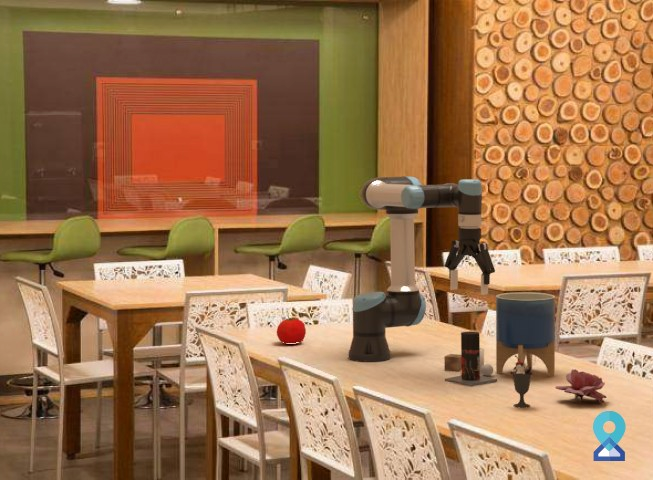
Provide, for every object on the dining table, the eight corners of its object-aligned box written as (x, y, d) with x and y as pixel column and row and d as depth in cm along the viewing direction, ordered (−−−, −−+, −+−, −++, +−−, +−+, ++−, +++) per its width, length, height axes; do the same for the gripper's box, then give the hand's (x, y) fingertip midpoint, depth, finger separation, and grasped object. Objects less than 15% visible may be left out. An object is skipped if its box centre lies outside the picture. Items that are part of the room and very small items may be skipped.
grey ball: (478, 376, 414) (478, 364, 413) (486, 374, 416) (486, 362, 416) (487, 377, 411) (487, 365, 410) (495, 376, 413) (495, 364, 413)
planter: (558, 370, 421) (559, 293, 419) (549, 381, 403) (550, 300, 401) (502, 367, 427) (502, 291, 425) (490, 378, 409) (490, 298, 407)
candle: (458, 372, 420) (458, 349, 419) (473, 370, 424) (472, 346, 424) (474, 375, 414) (474, 351, 414) (488, 372, 419) (488, 349, 418)
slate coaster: (444, 381, 406) (444, 378, 406) (470, 376, 414) (470, 373, 414) (472, 386, 397) (472, 384, 397) (497, 381, 405) (497, 378, 405)
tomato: (312, 342, 482) (312, 316, 481) (294, 347, 471) (294, 321, 470) (288, 340, 488) (288, 314, 487) (270, 345, 477) (269, 319, 476)
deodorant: (479, 380, 402) (478, 334, 401) (460, 380, 403) (460, 334, 402) (480, 377, 408) (480, 331, 406) (462, 376, 409) (461, 331, 408)
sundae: (507, 403, 372) (508, 354, 370) (530, 403, 372) (530, 353, 371) (513, 408, 365) (513, 358, 364) (535, 408, 366) (535, 357, 364)
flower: (575, 400, 362) (580, 366, 364) (546, 397, 376) (552, 364, 377) (616, 410, 368) (622, 376, 369) (587, 406, 381) (592, 374, 383)
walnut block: (444, 370, 424) (444, 356, 423) (450, 368, 428) (450, 353, 428) (458, 372, 421) (458, 357, 421) (463, 369, 426) (463, 355, 425)
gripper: (434, 225, 412) (433, 288, 414) (490, 230, 393) (489, 297, 395) (450, 223, 417) (449, 286, 419) (506, 229, 398) (505, 295, 400)
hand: (469, 292), depth 407 cm, fingers open, 13 cm apart
